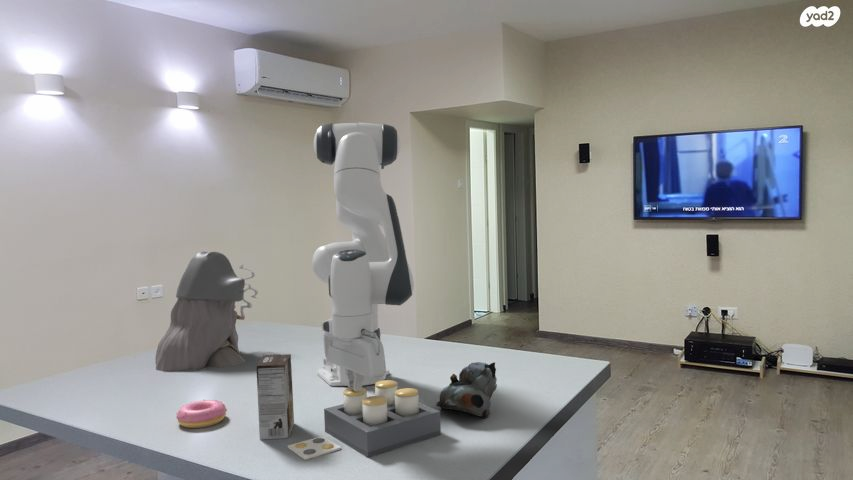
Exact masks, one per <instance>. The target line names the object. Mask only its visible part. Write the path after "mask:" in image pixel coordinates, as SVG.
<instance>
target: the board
mask: <svg viewBox="0 0 853 480" xmlns="http://www.w3.org/2000/svg"><path fill="white" fill-rule="evenodd" d="M323 411H324V412H323V416H324V419H323V420H324V431H325V433H327V434H329V435H331V436H332V437H334V438H335V439H337V440H339V441H340V442H341V443H344V444H345V445H346V446H348V447H350V448H351V449H353V450H355V451H356V452H358V453H360V454H362V456H364V457H366V458H371V457H374V456H377V455H380V454H383V453H386V452H390V451H393V450H396V449H399V448H403V447H405V446H409V445H412V444H415V443H418V442H422V441H424V440H427V439H431V438H434V437H437V436H440V435H441V434H442V431H441V430H442V429H441V425H442V424H441V410H439V409H436V408H433V407H431V406H428V405H426V404H424V403H421V402H419V413H418V414H415V415H411V416H408V417H404V418H403V417H401V416H399V415H397V414H396V410H395V405H392V406H388V407H387V420H388V422H386V423H383V424H379V425H376V426H372V427H369V426H367V425H366V424H364V423H363V413H361V414H358V415H354V416H349V415H347V414H345V413H344V403H342V404H338V405H334V406H330V407H326V408H323Z"/></svg>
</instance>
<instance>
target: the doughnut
mask: <svg viewBox="0 0 853 480" xmlns="http://www.w3.org/2000/svg"><path fill="white" fill-rule="evenodd" d="M227 411H228V409H227V407H226V404H224V403H223V401H220V400H217V399H216V400H215V399H202V400H197V401H196V400H195V401H193V402H189V403H187V404H184V405H182V407H180V408H179V410H178V412H176V419H177V423H178V424H179V425H180V426H181V427H184V428H187V429H201V428H202V429H203V428H207V427H211V426H214V425H217V424H218V423H220V422H221V421H223V420H224V419H225V417H226V415H227Z"/></svg>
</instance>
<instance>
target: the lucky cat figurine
mask: <svg viewBox="0 0 853 480" xmlns="http://www.w3.org/2000/svg"><path fill="white" fill-rule="evenodd" d="M496 371H497V367H496V362H491V363H490V364H488V363H486V362H481V361H477V362H471V363H470V364H468V365H467V366H465V367H464V368H462V369H461V371H460V373H459V375H458V376H459V377H457V375H456V374H455V373H452V375H451V376H450V377H449V378H450V381H451V382H450V383H449V384H448V385H447V386H445V387H443V389H442V390H441V391H440V393H439V400H438V401H437V402H435V407H438V408H439V409H441V410H444V409H445V410H447V409H448V410H455V411H462V412H463V413H467V414H470V415H474V416H478V417H481V418H483V419H487V418H488V417H489V415H490V414H491V406H492V405H491V398H492V396H493V394H494V393H495V392H496V389H497V387H498V385H497V381H498V378H497V376H496V373H497V372H496Z"/></svg>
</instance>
